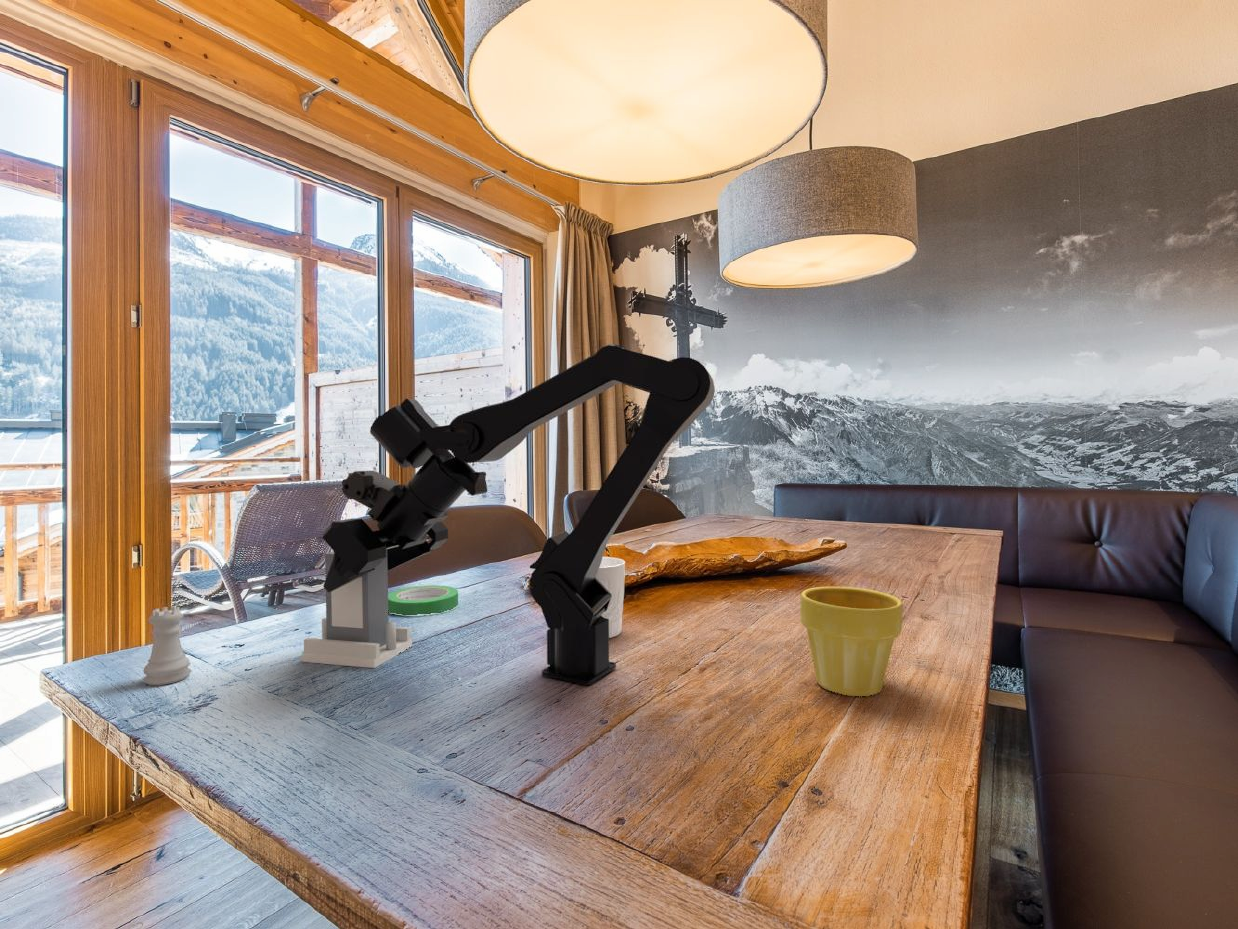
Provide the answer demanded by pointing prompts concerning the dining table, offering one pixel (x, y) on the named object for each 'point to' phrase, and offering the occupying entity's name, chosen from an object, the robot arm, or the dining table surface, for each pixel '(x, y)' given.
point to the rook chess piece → (166, 649)
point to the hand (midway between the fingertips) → (351, 580)
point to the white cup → (613, 591)
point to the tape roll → (422, 600)
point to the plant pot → (850, 636)
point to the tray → (356, 648)
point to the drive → (358, 607)
